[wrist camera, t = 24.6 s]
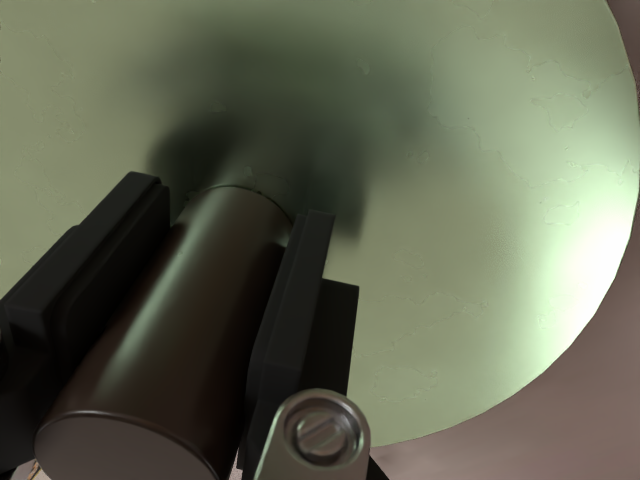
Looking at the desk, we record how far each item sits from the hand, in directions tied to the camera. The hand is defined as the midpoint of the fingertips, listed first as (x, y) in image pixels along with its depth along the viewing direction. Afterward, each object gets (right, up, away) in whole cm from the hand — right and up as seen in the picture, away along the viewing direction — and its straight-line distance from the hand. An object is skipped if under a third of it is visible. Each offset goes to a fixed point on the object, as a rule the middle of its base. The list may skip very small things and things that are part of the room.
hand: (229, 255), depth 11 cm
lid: (0, +1, +1) cm, 1 cm away
